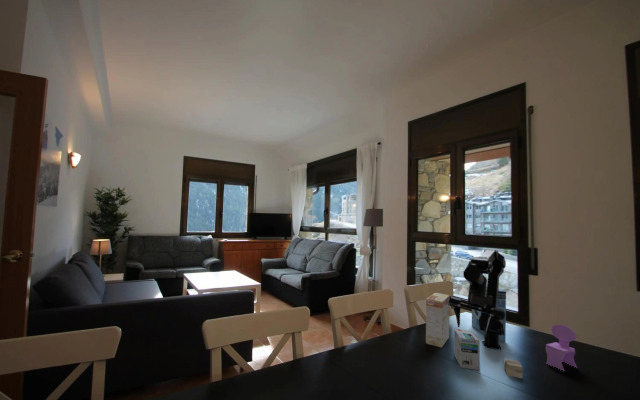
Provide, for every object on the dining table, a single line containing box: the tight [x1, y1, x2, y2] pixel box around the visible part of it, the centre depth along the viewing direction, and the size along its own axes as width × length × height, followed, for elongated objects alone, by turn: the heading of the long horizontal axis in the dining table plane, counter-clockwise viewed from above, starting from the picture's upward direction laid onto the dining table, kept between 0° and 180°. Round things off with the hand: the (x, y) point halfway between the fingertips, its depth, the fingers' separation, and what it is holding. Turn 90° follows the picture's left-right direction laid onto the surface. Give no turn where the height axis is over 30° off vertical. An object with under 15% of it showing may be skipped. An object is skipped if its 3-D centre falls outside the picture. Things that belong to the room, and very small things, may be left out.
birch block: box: [504, 358, 523, 379], centre depth 106 cm, size 4×4×4 cm
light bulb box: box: [453, 328, 481, 371], centre depth 113 cm, size 11×7×11 cm, turn 168°
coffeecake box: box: [425, 292, 450, 349], centre depth 134 cm, size 15×7×20 cm, turn 144°
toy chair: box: [545, 324, 578, 372], centre depth 113 cm, size 8×9×15 cm
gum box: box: [471, 285, 507, 343], centre depth 144 cm, size 20×5×23 cm, turn 4°
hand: (472, 331), depth 108 cm, fingers open, 9 cm apart
